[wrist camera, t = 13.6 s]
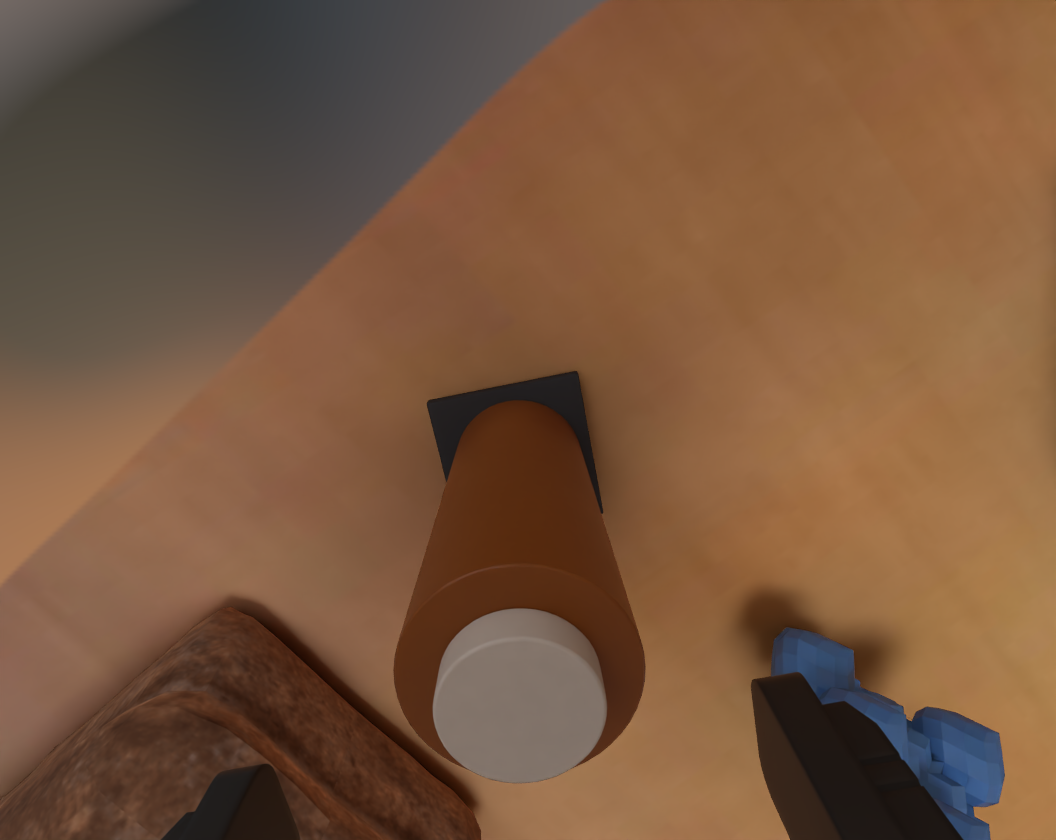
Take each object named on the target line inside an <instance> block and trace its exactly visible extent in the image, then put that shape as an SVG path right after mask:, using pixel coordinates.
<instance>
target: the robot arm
mask: <svg viewBox="0 0 1056 840" xmlns="http://www.w3.org/2000/svg"><path fill="white" fill-rule="evenodd" d="M751 691H752V699H753V708H754V716H755V725H756V733H757V742H758V750H759V757H760V762H761V767H762V771H763V774H764V778H765V781H766V784H767V787H768V790H769V793H770V795H771V798H772V800H773V802H774V804H775V807H776V809H777V811H778V813H779V815H780V818H781V820H782V822H783V824H784V826H785V829H786V831H787V833H788V835H789V837H790V840H963V838H962V837H961V836H960V834H959V833H958V832H957V830H956V829H955V828H954V826H953V825H952V823H951V822H950V821H949V819H948V818H947V817H946V815H945V814H944V813H943V811H942V810H941V809H940V807H939V806H938V805H937V803H936V802H935V801H934V799H933V798H932V797H931V795H930V794H929V793H928V791H927V790H926V789H925V787H924V786H921V785H920V783H919V780H918V778H917V777H916V775H915V774H914V772H913V771H912V770H911V768H910V767H909V766H908V764H907V763H906V762H905V760H902V759H901V757H900V754H899V752H898V751H897V750H896V748H895V747H894V746H893V744H892V743H891V742H890V740H889V739H888V738H887V736H886V735H885V734H884V732H883V731H882V730H881V728H880V727H879V726H878V724H877V723H876V722H874V721H873V720H871V719H870V718H869V717H867V716H866V715H864V714H863V713H861V712H860V711H859V710H857V709H856V708H854V707H853V706H852V705H850V704H849V703H847V702H846V701H840V702H834V703H829V704H823V705H822V703H821V702H820V700H819V699H818V697H817V696H816V694H815V692H814V691H813V689H812V688H811V686H810V685H809V683H808V682H807V680H806V679H805V678H804V676H803V675H802V674H801V673H800V672H794V673H788V674H782V675H776V676H771V677H765V678H759V679H754V680H752V682H751ZM161 840H300V836H299V832H298V829H297V826H296V823H295V821H294V818H293V816H292V813H291V811H290V808H289V805H288V803H287V800H286V798H285V795H284V793H283V790H282V787H281V785H280V782H279V780H278V777H277V775H276V772H275V770H274V768H273V767H272V766H271V765H270V764H259V765H253V766H248V767H242V768H236V769H231V770H225V771H222V772H220V773H218V774H217V775H216V776H215V777H214V779H213V781H212V782H211V784H210V786H209V787H208V789H207V791H206V793H205V794H204V796H203V798H202V800H201V801H200V803H199V805H198V807H197V808H196V810H195V811H193V812H187V813H186V814H185V815H184V816H183V817H182V818H181V819H180V820H179V821H178V822H177V823H176V824H175V825H174V826H173V827H172V828H171V829H170V830H169V831H168V833H167V834H166V835H165V836H164V837H163V838H162V839H161Z"/></svg>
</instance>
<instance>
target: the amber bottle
mask: <svg viewBox="0 0 1056 840" xmlns="http://www.w3.org/2000/svg"><path fill="white" fill-rule="evenodd" d="M644 682H645V657H644V651H643V647H642V643H641V639H640V636H639V633H638V629H637V626H636V623H635V620H634V617H633V614H632V610H631V607H630V604H629V601H628V598H627V594H626V591H625V588H624V585H623V582H622V578H621V575H620V572H619V569H618V566H617V562H616V559H615V556H614V553H613V550H612V546H611V543H610V540H609V537H608V534H607V530H606V527H605V524H604V521H603V518H602V515H601V511H600V508H599V505H598V502H597V499H596V495H595V492H594V489H593V486H592V483H591V479H590V476H589V473H588V470H587V467H586V463H585V460H584V457H583V454H582V451H581V447H580V444H579V441H578V439H577V436H576V434H575V432H574V431H573V429H572V427H571V426H570V425H569V423H568V422H567V421H566V420H565V419H564V418H563V417H562V416H561V415H560V414H558V413H557V412H556V411H554V410H553V409H551V408H549V407H547V406H545V405H542V404H540V403H536V402H532V401H525V400H513V401H506V402H502V403H498V404H496V405H493V406H491V407H489V408H487V409H485V410H484V411H482V412H481V413H480V414H478V415H477V416H476V417H475V418H474V419H473V420H472V421H471V422H470V423H469V424H468V426H467V427H466V428H465V430H464V432H463V434H462V436H461V438H460V441H459V444H458V447H457V450H456V453H455V457H454V460H453V463H452V467H451V470H450V473H449V476H448V480H447V483H446V486H445V490H444V493H443V496H442V500H441V503H440V506H439V509H438V513H437V516H436V519H435V523H434V526H433V529H432V532H431V536H430V539H429V542H428V546H427V549H426V552H425V555H424V559H423V562H422V565H421V569H420V572H419V575H418V578H417V582H416V585H415V588H414V592H413V595H412V598H411V602H410V605H409V608H408V611H407V615H406V618H405V621H404V625H403V628H402V631H401V634H400V638H399V641H398V645H397V649H396V653H395V660H394V683H395V688H396V693H397V697H398V700H399V703H400V705H401V708H402V710H403V713H404V715H405V716H406V718H407V720H408V722H409V723H410V725H411V726H412V728H413V729H414V730H415V732H416V733H417V734H418V736H419V737H420V738H421V739H422V740H423V741H424V742H425V743H426V744H427V745H428V746H429V747H431V748H432V749H433V750H435V751H436V752H437V753H438V754H440V755H441V756H443V757H444V758H446V759H448V760H449V761H451V762H453V763H455V764H457V765H459V766H461V767H464V768H466V769H468V770H470V771H472V772H474V773H476V774H478V775H480V776H483V777H486V778H489V779H492V780H496V781H501V782H507V783H531V782H538V781H542V780H547V779H550V778H553V777H555V776H558V775H560V774H562V773H564V772H566V771H568V770H570V769H571V768H574V767H576V766H578V765H580V764H582V763H584V762H586V761H588V760H590V759H591V758H593V757H594V756H596V755H598V754H599V753H601V752H602V751H603V750H604V749H605V748H607V747H608V746H609V745H610V744H612V742H613V741H614V740H615V739H616V738H617V737H618V736H619V735H620V734H621V733H622V732H623V730H624V729H625V728H626V726H627V725H628V724H629V722H630V720H631V719H632V717H633V715H634V713H635V711H636V709H637V707H638V704H639V701H640V698H641V696H642V691H643V687H644Z"/></svg>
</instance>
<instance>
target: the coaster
mask: <svg viewBox="0 0 1056 840" xmlns="http://www.w3.org/2000/svg"><path fill="white" fill-rule="evenodd" d="M513 400H525V401H532V402H536V403H540V404H542V405H545V406H547V407H549V408H551V409H553V410H554V411H556V412H557V413H558V414H560V415H561V416H562V417H563V418H564V419H565V420H566V421H567V422H568V423H569V425H570V426H571V427H572V429H573V431H574V432H575V434H576V436H577V439H578V441H579V444H580V447H581V451H582V454H583V457H584V460H585V463H586V467H587V470H588V473H589V476H590V479H591V483H592V486H593V489H594V492H595V495H596V499H597V502H598V505H599V508H600V511H601V514H602V513H603V508H602V503H601V497H600V492H599V486H598V481H597V475H596V470H595V464H594V459H593V453H592V448H591V442H590V437H589V431H588V426H587V420H586V415H585V409H584V404H583V398H582V393H581V387H580V382H579V376H578V373H577V371H574V372H569V373H564V374H559V375H554V376H549V377H543V378H538V379H533V380H528V381H523V382H518V383H513V384H508V385H503V386H498V387H493V388H488V389H483V390H478V391H473V392H468V393H463V394H458V395H453V396H448V397H443V398H438V399H433V400H429V401H428V402H427V407H428V411H429V415H430V419H431V423H432V427H433V431H434V435H435V439H436V443H437V447H438V451H439V455H440V459H441V463H442V467H443V471H444V475H445V478H446V482H447V480H448V476H449V473H450V470H451V467H452V463H453V460H454V457H455V453H456V450H457V447H458V444H459V441H460V438H461V436H462V434H463V432H464V430H465V428H466V427H467V426H468V424H469V423H470V422H471V421H472V420H473V419H474V418H475V417H476V416H477V415H478V414H480V413H481V412H482V411H484V410H485V409H487V408H489V407H491V406H493V405H496V404H498V403H502V402H506V401H513Z"/></svg>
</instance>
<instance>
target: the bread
mask: <svg viewBox="0 0 1056 840" xmlns="http://www.w3.org/2000/svg"><path fill="white" fill-rule="evenodd" d="M259 764H270V765H271V766H272V767H273V768H274V770H275V772H276V775H277V777H278V780H279V782H280V785H281V787H282V790H283V793H284V795H285V798H286V800H287V803H288V805H289V808H290V811H291V813H292V816H293V818H294V821H295V823H296V826H297V829H298V832H299V836H300V840H481V830H480V827H479V825H478V823H477V821H476V818H475V816H474V814H473V812H472V811H471V810H470V809H469V808H468V807H467V806H466V804H465V803H464V802H463V801H462V800H461V799H460V798H459V797H458V796H457V794H456V793H455V792H454V791H453V790H452V789H450V788H449V787H448V786H446V785H445V784H443V783H442V782H441V781H439V780H438V779H437V778H435V777H434V776H432V775H431V774H430V773H429V772H428V771H427V770H426V769H425V768H424V767H423V766H421V765H420V764H419V763H418V762H417V761H416V760H415V759H414V758H413V757H412V756H411V755H410V754H408V753H407V752H406V751H405V750H403V749H402V748H401V747H400V746H398V745H397V744H396V743H395V742H394V741H392V740H391V739H390V738H389V737H387V736H386V735H385V734H384V733H383V732H381V731H380V730H379V729H378V728H377V727H375V726H374V725H373V724H372V723H371V722H369V721H368V720H367V719H366V718H365V717H364V716H362V715H361V714H360V713H359V712H358V711H356V710H355V709H354V708H353V707H352V706H351V705H350V704H349V703H347V702H346V701H345V700H344V699H343V698H342V697H341V696H340V695H339V694H338V693H337V692H335V691H334V690H333V689H332V688H331V687H330V686H329V685H328V684H327V683H326V682H325V681H323V680H322V679H321V678H320V677H319V676H318V675H317V674H316V673H315V672H314V671H313V670H312V669H311V668H309V667H308V666H307V665H306V664H305V663H304V662H303V661H302V660H301V659H300V658H299V657H298V656H296V655H295V654H294V653H293V652H292V651H291V650H290V649H289V648H288V647H287V646H286V645H284V644H283V643H282V642H281V641H280V640H279V639H278V638H277V637H276V636H275V635H273V634H272V633H271V632H270V631H269V630H267V629H266V628H265V627H264V626H263V625H261V624H260V623H259V622H258V621H257V620H255V619H254V618H253V617H252V616H248V615H245V614H243V613H241V612H240V611H238V610H236V609H234V608H232V607H228V608H223V609H220V610H218V611H217V612H215V613H214V614H212V615H211V616H209V617H208V618H206V619H205V620H203V621H202V622H200V623H199V624H197V625H196V626H194V627H193V628H192V629H191V630H190V631H189V632H188V633H187V634H186V635H184V636H183V637H182V638H181V639H180V640H179V641H178V642H177V643H176V644H175V645H174V646H173V647H172V648H171V649H169V650H168V651H167V652H166V653H165V654H164V655H162V656H161V657H160V658H159V659H158V660H157V661H155V662H154V663H153V664H152V665H151V666H149V667H148V668H147V669H146V670H145V671H143V672H142V673H141V674H140V675H139V676H138V677H137V678H136V679H134V680H133V681H132V682H131V683H130V684H129V685H128V686H127V687H126V688H124V689H123V690H122V691H121V692H120V693H119V694H118V695H117V696H115V697H114V698H113V699H112V700H111V701H110V702H109V703H108V704H107V705H105V706H104V707H103V708H102V709H101V710H100V711H99V712H98V713H97V714H95V715H94V716H93V717H92V718H91V719H90V720H89V721H88V722H87V723H86V724H85V725H83V726H82V727H81V728H79V729H78V730H77V731H75V732H74V733H73V734H71V735H70V736H69V737H68V738H66V739H65V740H64V741H62V742H61V743H60V744H58V745H57V746H56V747H55V748H54V749H53V750H52V751H51V752H50V753H49V754H48V756H47V757H46V758H45V759H44V760H43V761H42V762H41V763H40V764H39V766H38V767H37V768H36V769H35V770H34V771H33V772H32V773H31V774H30V775H29V776H28V777H27V778H26V779H25V780H23V781H22V782H21V783H20V784H19V785H18V786H17V787H15V788H14V789H13V790H12V791H11V792H10V793H8V794H7V795H6V796H5V797H4V798H3V799H2V800H0V840H161V839H162V838H163V837H164V836H165V835H166V834H167V833H168V831H169V830H170V829H171V828H172V827H173V826H174V825H175V824H176V823H177V822H178V821H179V820H180V819H181V818H182V817H183V816H184V815H185V814H186V813H187V812H193V811H195V810H196V808H197V807H198V805H199V803H200V801H201V800H202V798H203V796H204V794H205V793H206V791H207V789H208V787H209V786H210V784H211V782H212V781H213V779H214V777H215V776H216V775H217V774H218V773H220V772H222V771H225V770H231V769H236V768H242V767H248V766H253V765H259Z"/></svg>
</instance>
